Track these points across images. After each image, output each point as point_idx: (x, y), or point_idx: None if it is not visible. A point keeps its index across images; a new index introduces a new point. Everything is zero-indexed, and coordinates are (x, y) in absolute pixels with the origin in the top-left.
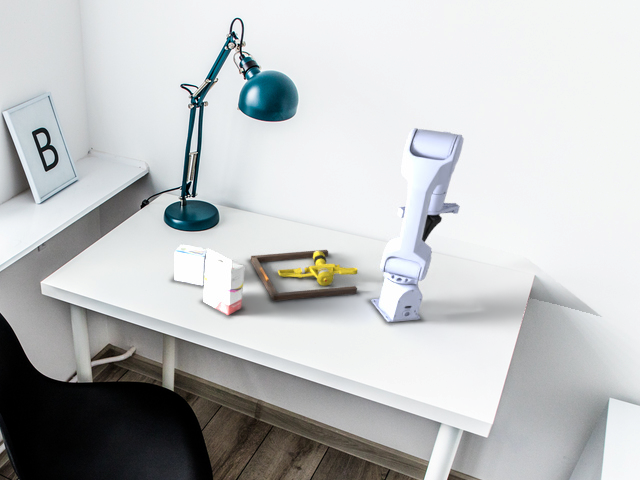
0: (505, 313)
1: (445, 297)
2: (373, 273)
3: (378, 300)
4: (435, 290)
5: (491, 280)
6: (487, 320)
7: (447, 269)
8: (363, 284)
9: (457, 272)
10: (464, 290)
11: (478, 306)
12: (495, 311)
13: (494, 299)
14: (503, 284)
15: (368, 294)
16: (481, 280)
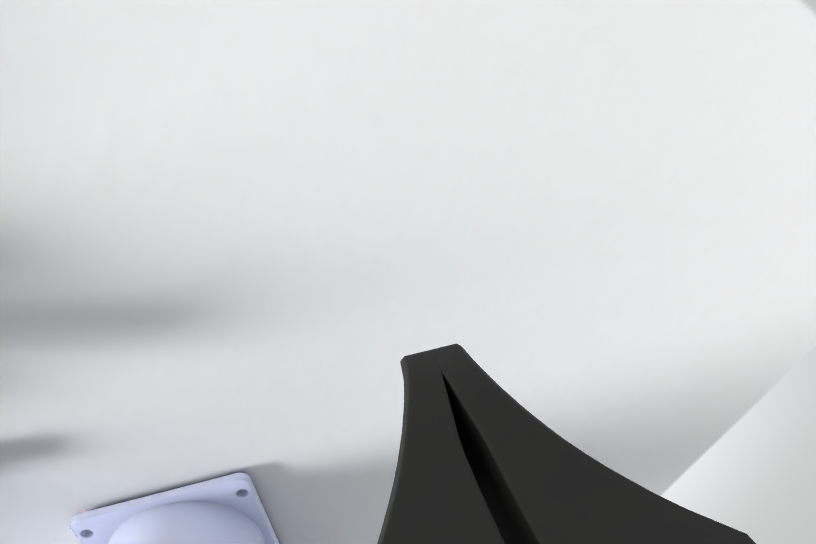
0: (643, 486)
1: None
2: (94, 236)
3: (108, 527)
4: None
5: (773, 261)
6: None
7: (625, 154)
8: (19, 373)
9: (661, 189)
10: (588, 362)
11: None
12: None
13: (669, 410)
14: (796, 292)
15: (57, 461)
16: (726, 265)
